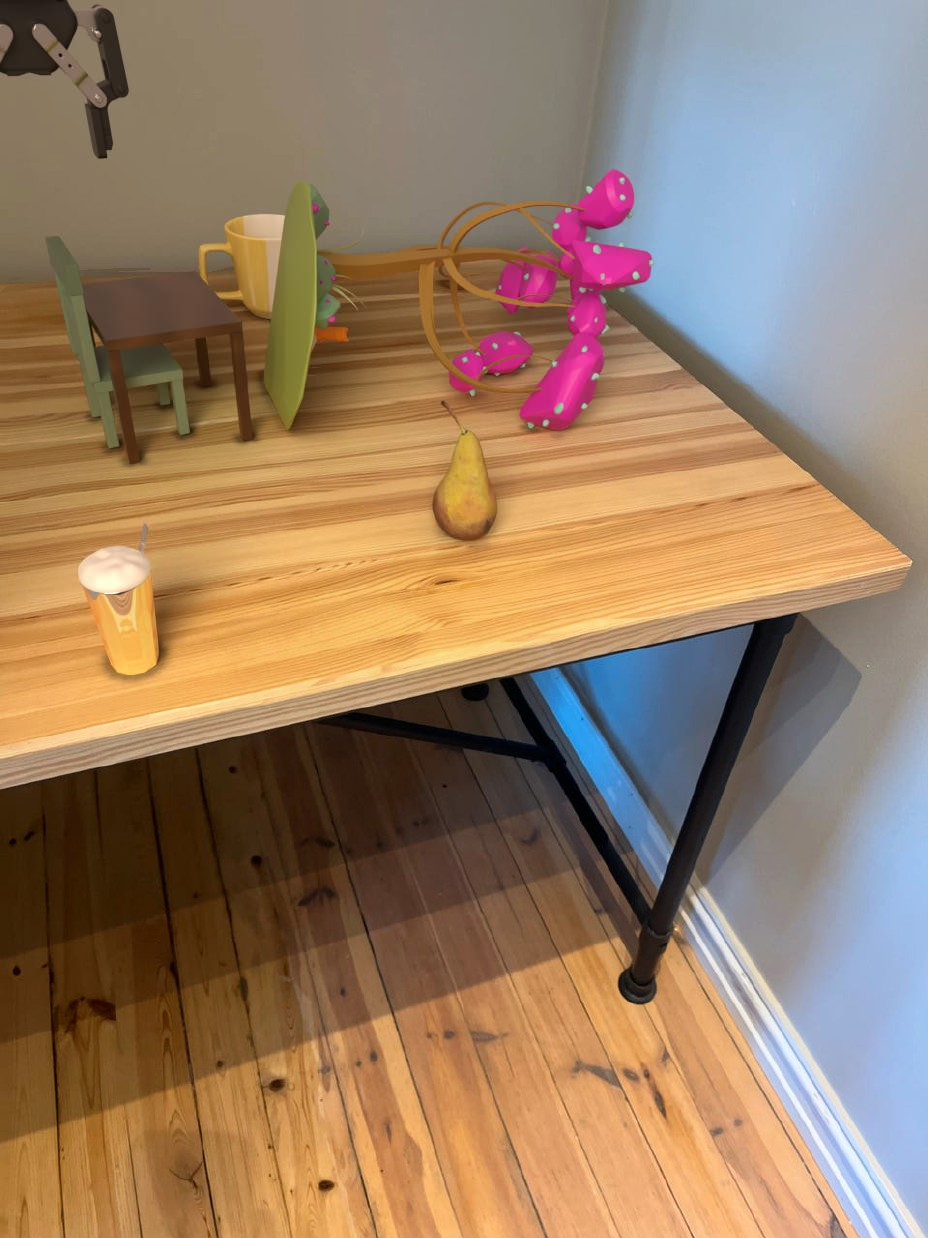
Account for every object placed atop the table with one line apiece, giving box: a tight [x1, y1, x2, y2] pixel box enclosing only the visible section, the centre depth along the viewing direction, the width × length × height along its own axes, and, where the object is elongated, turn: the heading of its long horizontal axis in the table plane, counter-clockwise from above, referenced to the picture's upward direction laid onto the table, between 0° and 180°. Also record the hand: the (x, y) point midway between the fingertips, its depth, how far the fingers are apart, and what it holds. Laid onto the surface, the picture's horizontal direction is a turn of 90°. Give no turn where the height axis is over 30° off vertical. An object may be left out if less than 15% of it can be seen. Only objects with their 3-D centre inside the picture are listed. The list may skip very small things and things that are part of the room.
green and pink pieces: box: [263, 168, 656, 431], centre depth 94 cm, size 30×28×35 cm
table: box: [82, 270, 254, 465], centre depth 89 cm, size 12×14×12 cm
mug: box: [198, 213, 285, 320], centre depth 112 cm, size 14×10×10 cm
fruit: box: [431, 400, 498, 541], centre depth 76 cm, size 6×6×12 cm
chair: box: [44, 235, 191, 449], centre depth 85 cm, size 8×8×17 cm
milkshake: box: [77, 523, 160, 676], centre depth 62 cm, size 4×5×10 cm
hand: (45, 159), depth 74 cm, fingers open, 8 cm apart
